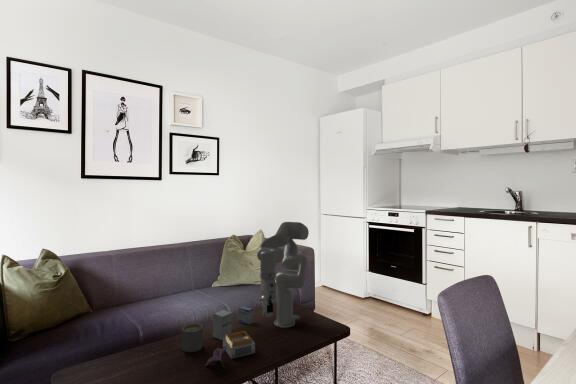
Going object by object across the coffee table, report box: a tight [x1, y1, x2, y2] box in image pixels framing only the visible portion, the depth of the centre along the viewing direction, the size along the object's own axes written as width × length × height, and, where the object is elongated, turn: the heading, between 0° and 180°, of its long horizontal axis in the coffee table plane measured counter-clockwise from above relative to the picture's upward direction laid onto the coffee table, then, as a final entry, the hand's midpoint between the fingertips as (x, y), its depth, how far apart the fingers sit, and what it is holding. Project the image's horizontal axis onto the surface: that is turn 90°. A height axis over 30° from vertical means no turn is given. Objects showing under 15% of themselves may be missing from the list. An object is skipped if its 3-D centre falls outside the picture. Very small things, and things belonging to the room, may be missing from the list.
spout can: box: [258, 295, 274, 318], centre depth 167 cm, size 8×6×10 cm
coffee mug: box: [181, 323, 204, 353], centre depth 167 cm, size 13×10×10 cm
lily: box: [205, 345, 227, 368], centre depth 148 cm, size 12×12×10 cm
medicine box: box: [238, 305, 254, 326], centre depth 197 cm, size 8×4×9 cm, turn 62°
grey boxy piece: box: [222, 330, 256, 360], centre depth 163 cm, size 12×14×6 cm
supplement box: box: [212, 309, 233, 341], centre depth 178 cm, size 7×7×13 cm
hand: (267, 309), depth 168 cm, fingers closed on spout can, 5 cm apart
